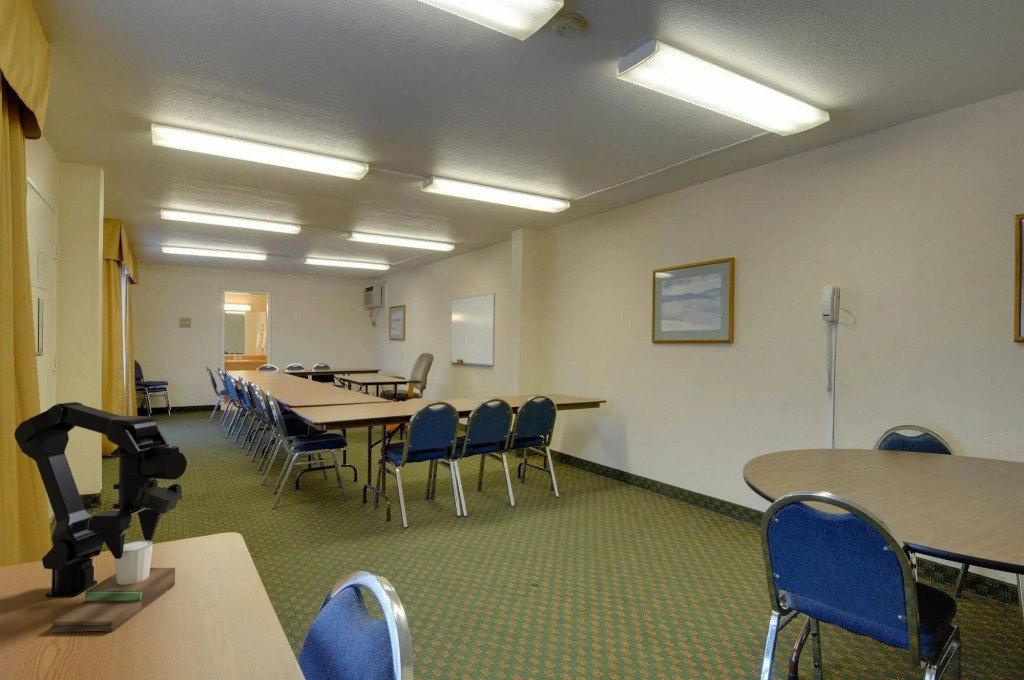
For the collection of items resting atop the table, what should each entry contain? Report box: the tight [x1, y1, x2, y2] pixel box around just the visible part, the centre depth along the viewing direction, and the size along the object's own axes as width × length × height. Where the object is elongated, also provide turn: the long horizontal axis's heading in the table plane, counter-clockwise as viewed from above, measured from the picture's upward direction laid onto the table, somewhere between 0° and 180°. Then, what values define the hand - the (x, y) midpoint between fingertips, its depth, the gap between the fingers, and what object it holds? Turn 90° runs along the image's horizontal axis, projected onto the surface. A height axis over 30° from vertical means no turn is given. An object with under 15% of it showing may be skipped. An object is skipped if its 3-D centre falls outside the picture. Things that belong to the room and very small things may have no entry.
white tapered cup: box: [114, 539, 154, 585], centre depth 111 cm, size 7×7×7 cm
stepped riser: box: [50, 567, 176, 633], centre depth 107 cm, size 11×19×4 cm, turn 2°
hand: (134, 549), depth 111 cm, fingers open, 9 cm apart
